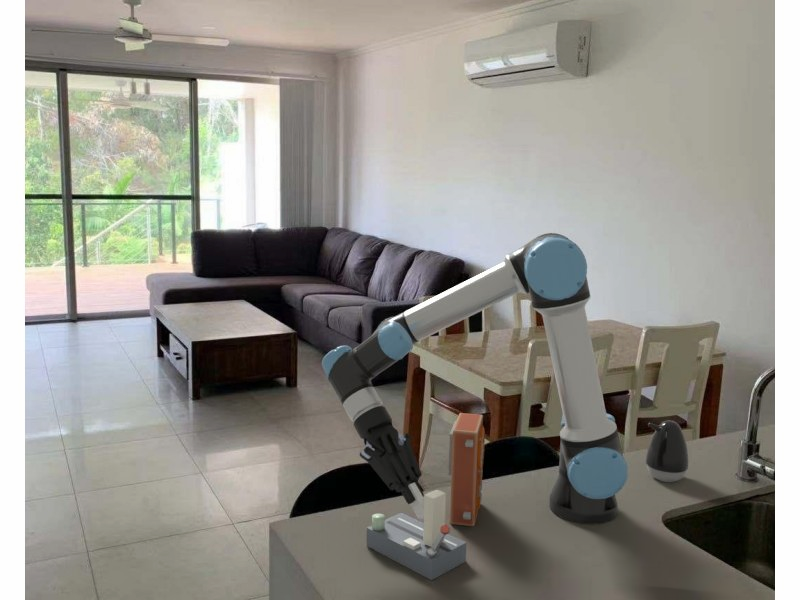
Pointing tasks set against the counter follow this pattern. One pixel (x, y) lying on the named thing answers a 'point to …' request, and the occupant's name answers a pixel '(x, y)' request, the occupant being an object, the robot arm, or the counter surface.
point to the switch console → (415, 546)
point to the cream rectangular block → (433, 516)
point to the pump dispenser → (667, 452)
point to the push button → (378, 522)
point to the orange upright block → (466, 468)
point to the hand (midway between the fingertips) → (424, 515)
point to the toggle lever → (438, 541)
